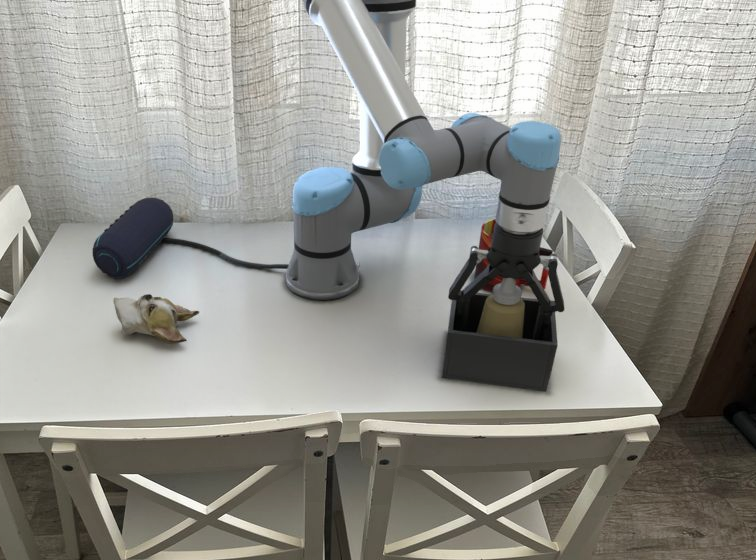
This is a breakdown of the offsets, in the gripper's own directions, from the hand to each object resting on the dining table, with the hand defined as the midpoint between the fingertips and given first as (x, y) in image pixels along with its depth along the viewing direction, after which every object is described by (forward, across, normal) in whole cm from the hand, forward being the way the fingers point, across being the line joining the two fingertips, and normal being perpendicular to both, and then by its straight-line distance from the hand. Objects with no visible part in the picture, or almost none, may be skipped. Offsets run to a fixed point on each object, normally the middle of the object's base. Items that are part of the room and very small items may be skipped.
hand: (498, 337), depth 126 cm
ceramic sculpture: (+6, -63, -5) cm, 63 cm away
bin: (+5, 0, 0) cm, 5 cm away
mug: (+6, +2, +28) cm, 29 cm away
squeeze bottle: (+5, 0, 0) cm, 5 cm away
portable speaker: (+6, -79, +22) cm, 82 cm away
